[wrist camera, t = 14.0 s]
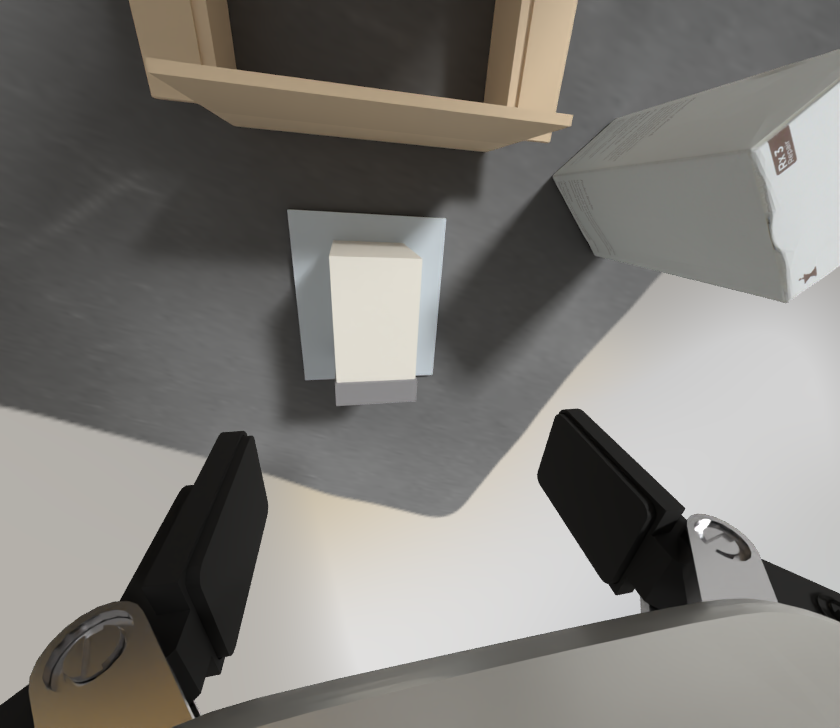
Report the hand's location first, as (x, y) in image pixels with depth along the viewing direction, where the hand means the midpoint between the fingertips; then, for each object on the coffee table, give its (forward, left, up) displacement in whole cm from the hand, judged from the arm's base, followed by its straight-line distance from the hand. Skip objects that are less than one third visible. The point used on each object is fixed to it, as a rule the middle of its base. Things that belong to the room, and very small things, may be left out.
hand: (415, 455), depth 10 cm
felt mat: (0, 0, -18) cm, 18 cm away
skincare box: (-9, +18, -19) cm, 27 cm away
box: (0, 0, -18) cm, 18 cm away
